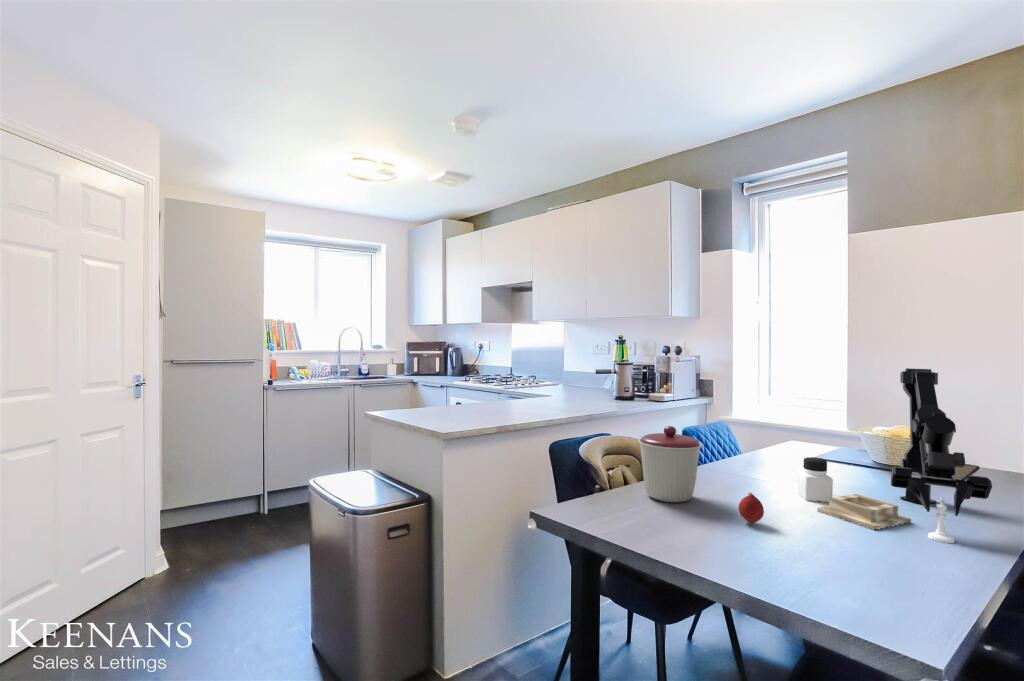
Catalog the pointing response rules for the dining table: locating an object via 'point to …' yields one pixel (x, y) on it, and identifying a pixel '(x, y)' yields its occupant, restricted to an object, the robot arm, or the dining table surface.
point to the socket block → (864, 511)
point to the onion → (751, 508)
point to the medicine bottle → (815, 480)
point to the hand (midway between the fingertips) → (942, 513)
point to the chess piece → (941, 525)
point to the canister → (669, 465)
